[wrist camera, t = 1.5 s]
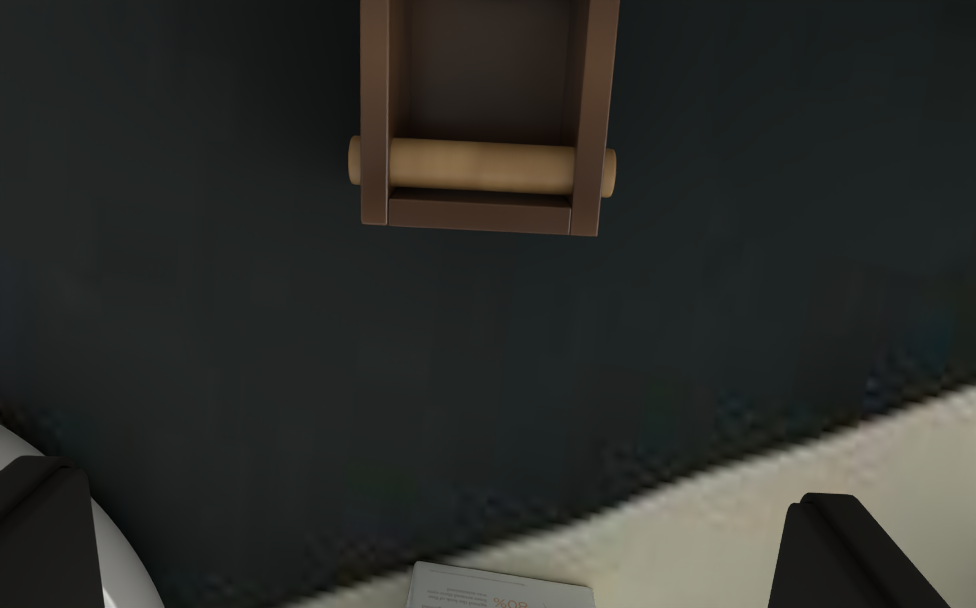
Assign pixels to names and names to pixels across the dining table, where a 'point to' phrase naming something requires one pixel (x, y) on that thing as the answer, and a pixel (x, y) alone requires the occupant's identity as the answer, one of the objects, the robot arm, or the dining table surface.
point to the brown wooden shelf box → (485, 114)
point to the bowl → (101, 545)
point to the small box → (489, 590)
